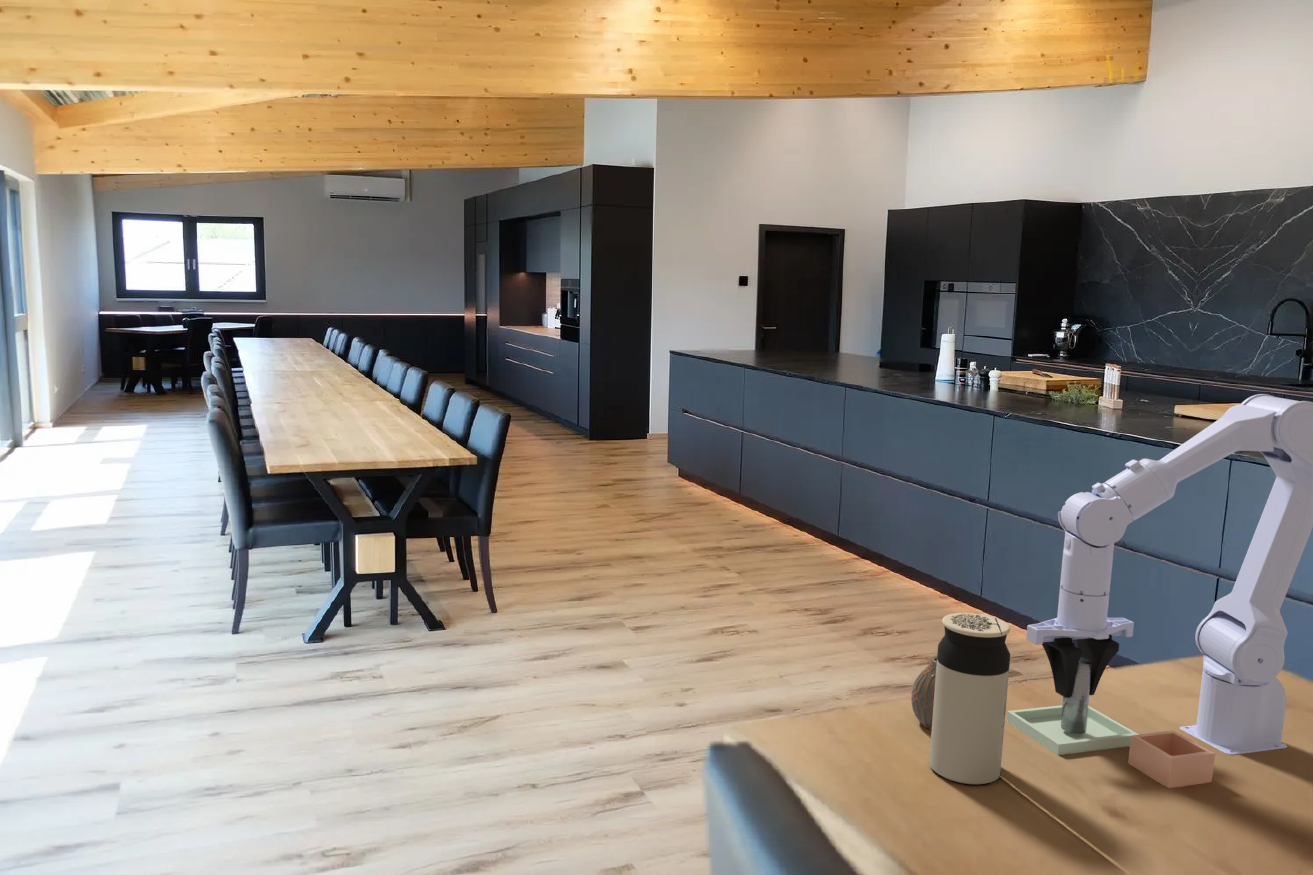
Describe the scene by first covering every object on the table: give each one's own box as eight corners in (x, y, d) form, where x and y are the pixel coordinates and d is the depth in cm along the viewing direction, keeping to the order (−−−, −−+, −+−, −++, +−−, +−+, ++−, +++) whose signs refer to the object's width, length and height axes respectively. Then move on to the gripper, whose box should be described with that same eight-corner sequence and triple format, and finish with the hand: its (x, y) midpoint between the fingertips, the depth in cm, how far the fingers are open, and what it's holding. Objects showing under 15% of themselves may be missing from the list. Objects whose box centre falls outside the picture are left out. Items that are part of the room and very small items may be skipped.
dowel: (1073, 722, 129) (1079, 655, 128) (1091, 731, 126) (1097, 663, 125) (1055, 725, 128) (1061, 657, 127) (1073, 734, 125) (1079, 665, 124)
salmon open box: (1169, 761, 121) (1173, 730, 121) (1211, 785, 115) (1215, 753, 115) (1127, 767, 119) (1131, 735, 119) (1167, 792, 113) (1171, 758, 113)
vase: (967, 739, 126) (972, 672, 124) (910, 732, 127) (915, 666, 126) (962, 716, 132) (967, 653, 131) (908, 711, 134) (913, 648, 132)
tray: (1082, 715, 134) (1083, 702, 134) (1138, 748, 124) (1139, 734, 124) (1005, 724, 130) (1007, 710, 130) (1057, 758, 121) (1058, 744, 121)
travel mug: (925, 778, 115) (937, 627, 112) (932, 749, 122) (942, 607, 120) (999, 792, 112) (1012, 638, 110) (1000, 762, 120) (1013, 617, 117)
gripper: (1057, 602, 119) (1047, 711, 121) (1156, 595, 123) (1145, 700, 125) (1019, 585, 125) (1010, 688, 127) (1114, 579, 130) (1104, 679, 132)
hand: (1074, 693), depth 127 cm, fingers closed on dowel, 3 cm apart
